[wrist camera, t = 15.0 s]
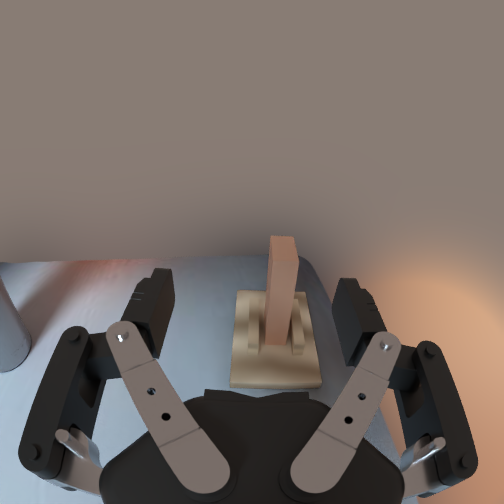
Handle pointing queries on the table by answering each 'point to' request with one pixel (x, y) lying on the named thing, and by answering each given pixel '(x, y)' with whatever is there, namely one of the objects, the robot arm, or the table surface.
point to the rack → (272, 347)
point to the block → (280, 289)
